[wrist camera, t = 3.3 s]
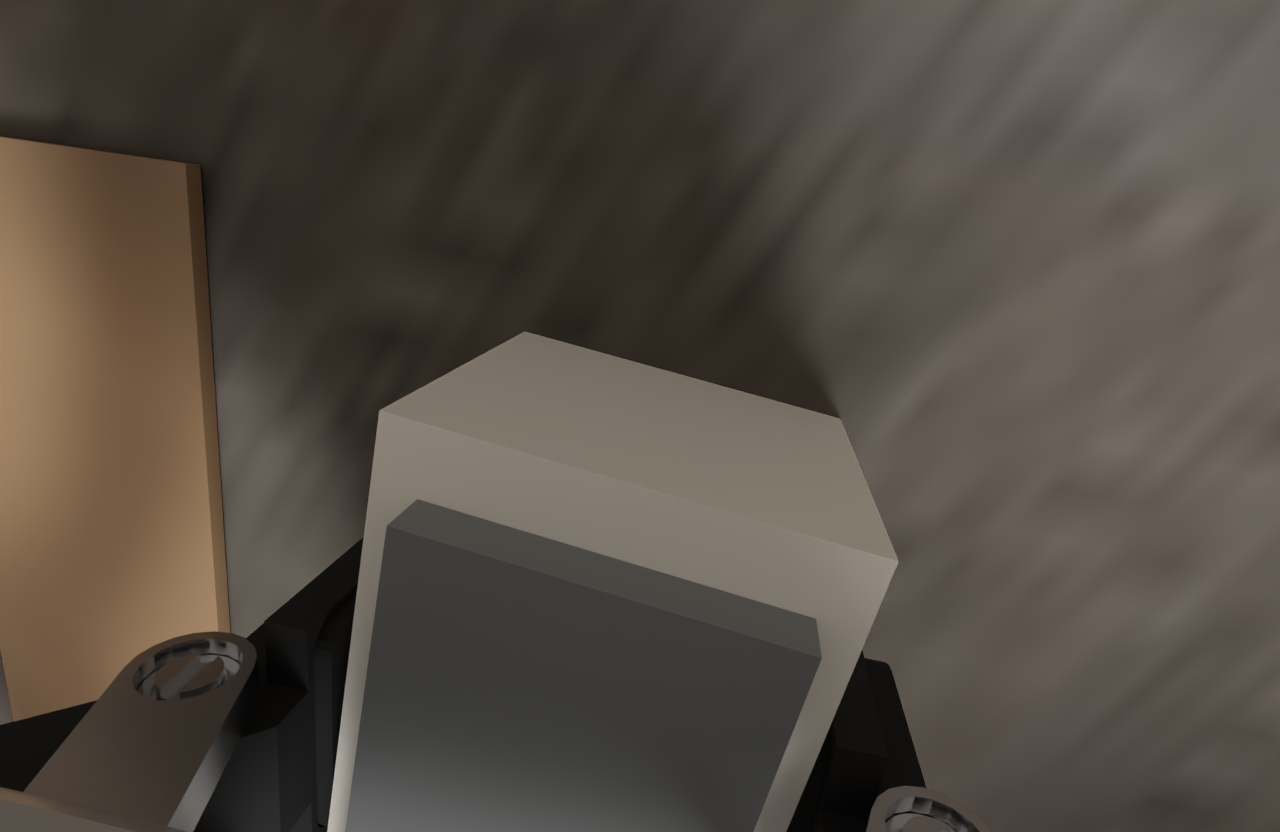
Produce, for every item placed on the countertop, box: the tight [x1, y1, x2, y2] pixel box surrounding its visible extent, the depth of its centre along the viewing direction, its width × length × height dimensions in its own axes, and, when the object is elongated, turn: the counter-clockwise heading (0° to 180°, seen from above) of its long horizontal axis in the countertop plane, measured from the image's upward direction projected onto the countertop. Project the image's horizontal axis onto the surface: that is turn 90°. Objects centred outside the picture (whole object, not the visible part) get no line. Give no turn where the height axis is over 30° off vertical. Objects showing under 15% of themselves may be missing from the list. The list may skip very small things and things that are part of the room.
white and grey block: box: [327, 331, 899, 832], centre depth 9 cm, size 5×8×5 cm, turn 167°
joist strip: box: [0, 136, 230, 721], centre depth 13 cm, size 5×16×1 cm, turn 173°
